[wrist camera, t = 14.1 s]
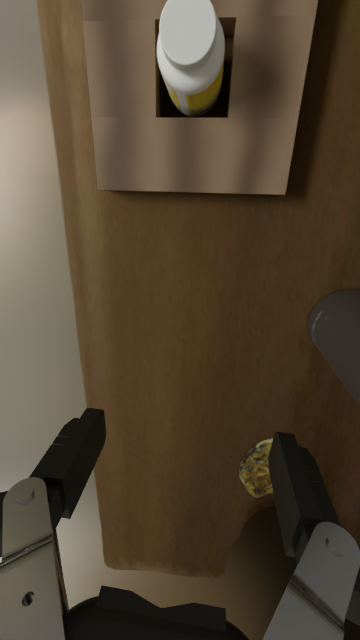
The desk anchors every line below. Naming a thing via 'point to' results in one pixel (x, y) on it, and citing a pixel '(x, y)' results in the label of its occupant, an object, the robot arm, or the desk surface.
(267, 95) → the socket board
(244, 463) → the noodle cake
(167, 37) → the supplement bottle
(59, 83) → the desk surface
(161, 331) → the desk surface
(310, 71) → the desk surface
